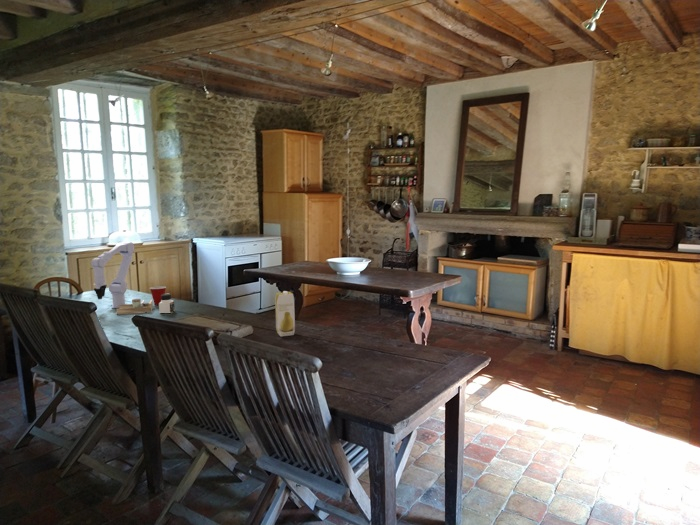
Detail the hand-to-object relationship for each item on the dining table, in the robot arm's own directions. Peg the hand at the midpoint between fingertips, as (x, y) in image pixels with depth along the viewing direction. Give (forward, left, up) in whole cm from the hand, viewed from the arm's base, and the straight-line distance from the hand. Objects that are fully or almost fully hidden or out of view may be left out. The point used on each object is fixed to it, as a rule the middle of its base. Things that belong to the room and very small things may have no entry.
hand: (101, 297), depth 311 cm
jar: (+4, +21, -9) cm, 23 cm away
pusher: (+4, +25, -9) cm, 26 cm away
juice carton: (+83, +105, -10) cm, 134 cm away
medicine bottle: (+14, +40, -10) cm, 43 cm away
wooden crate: (+4, +20, -9) cm, 22 cm away
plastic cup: (-12, +33, -10) cm, 36 cm away
